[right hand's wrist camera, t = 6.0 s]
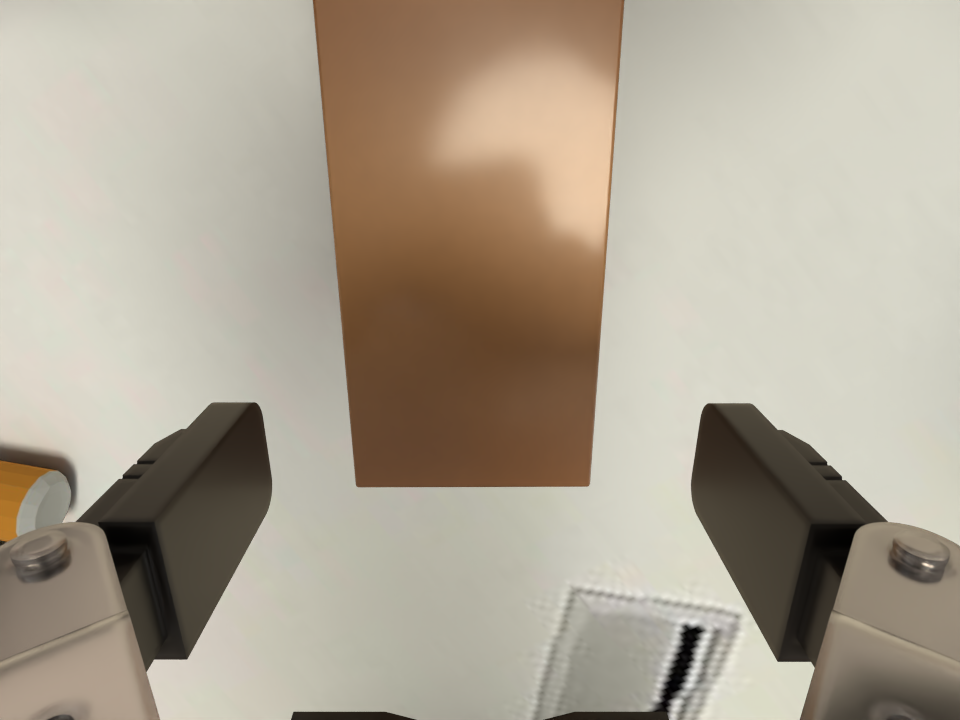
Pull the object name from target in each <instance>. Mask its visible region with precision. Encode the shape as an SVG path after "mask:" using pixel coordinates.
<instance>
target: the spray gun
mask: <svg viewBox="0 0 960 720" xmlns="http://www.w3.org/2000/svg"><path fill="white" fill-rule="evenodd" d="M70 501H71V490H70V486H69V483H68V481H67V478H66V477H65V476H64V475H63V474H62V473H61V472H59V471H57V470H52V469H46V468H40V467H34V466H29V465H23V464H17V463H11V462H6V461H0V540H1V541H6V542H8V541H10V540H12V539H14V538H16V537H18V536H20V535H23V534H25V533H27V532H30V531H33V530H36V529H39V528H42V527H46V526H50V525H55V524H60V523H62V522H63V520H64V518H65V516H66V514H67V512H68V508H69V505H70ZM1 545H3V544H2V543H1V542H0V546H1Z"/></svg>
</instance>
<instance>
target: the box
mask: <svg viewBox="0 0 960 720" xmlns="http://www.w3.org/2000/svg"><path fill="white" fill-rule="evenodd" d="M313 8H314V19H315V30H316V42H317V53H318V64H319V75H320V87H321V98H322V109H323V120H324V131H325V143H326V154H327V165H328V176H329V188H330V199H331V210H332V221H333V233H334V244H335V255H336V266H337V278H338V289H339V300H340V311H341V323H342V334H343V345H344V356H345V368H346V379H347V390H348V401H349V412H350V424H351V435H352V446H353V457H354V469H355V480H356V486H357V487H582V486H589V484H590V475H591V461H592V447H593V433H594V419H595V405H596V391H597V377H598V363H599V349H600V335H601V321H602V307H603V293H604V279H605V265H606V251H607V237H608V223H609V209H610V195H611V181H612V167H613V153H614V139H615V125H616V110H617V96H618V82H619V68H620V54H621V40H622V26H623V12H624V0H313Z"/></svg>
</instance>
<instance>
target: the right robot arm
mask: <svg viewBox="0 0 960 720" xmlns="http://www.w3.org/2000/svg"><path fill="white" fill-rule="evenodd" d="M271 494H272V477H271V470H270V463H269V456H268V449H267V442H266V436H265V429H264V422H263V416H262V412H261V409H260V407H259V405H258V404H257V403H211V404H210V405H209V406H208V407H207V408H206V409H205V410H204V411H203V412H202V413H201V414H200V415H199V416H198V417H197V418H196V419H195V421H194V422H193V423H192V424H191V425H190V426H189V427H188V428H187V429H180V430H179V431H177V432H175V433H173V434H171V435H169V436H168V437H166V438H164V439H162V440H160V441H159V442H157V443H155V444H154V445H153V446H152V447H151V448H150V449H149V450H148V451H147V452H146V453H145V454H144V455H143V456H142V457H141V458H140V459H139V460H138V461H137V464H134V465H133V466H132V467H131V468H130V469H128V470H127V471H126V472H125V473H124V474H123V478H122V479H118V480H117V481H116V482H115V483H114V484H113V485H112V486H111V487H110V488H109V489H108V490H107V491H106V492H105V493H104V494H103V495H102V496H101V497H100V498H99V499H98V500H97V501H96V502H95V503H94V504H93V505H92V506H91V507H90V508H89V509H88V510H87V511H86V512H85V513H84V514H83V515H82V516H81V517H80V518H79V519H78V520H77V521H76V522H68V523H60V524H55V525H50V526H46V527H42V528H39V529H36V530H33V531H30V532H27V533H25V534H23V535H20V536H18V537H16V538H14V539H12V540H10V541H8V542H6V543H4V544H3V545H1V546H0V720H160V718H159V714H158V711H157V707H156V704H155V701H154V697H153V694H152V690H151V687H150V683H149V680H148V677H147V673H146V672H147V670H148V669H149V667H150V665H151V664H152V662H153V660H154V659H188V657H189V655H190V653H191V651H192V650H193V648H194V646H195V644H196V642H197V640H198V638H199V637H200V635H201V633H202V631H203V629H204V627H205V626H206V624H207V622H208V620H209V618H210V616H211V615H212V613H213V611H214V609H215V607H216V605H217V604H218V602H219V600H220V598H221V596H222V594H223V593H224V591H225V589H226V587H227V585H228V583H229V582H230V580H231V578H232V576H233V574H234V572H235V570H236V569H237V567H238V565H239V563H240V561H241V559H242V558H243V556H244V554H245V552H246V550H247V548H248V547H249V545H250V543H251V541H252V539H253V537H254V536H255V534H256V532H257V530H258V528H259V526H260V525H261V523H262V521H263V519H264V517H265V515H266V513H267V511H268V508H269V505H270V501H271ZM691 494H692V501H693V505H694V509H695V512H696V514H697V516H698V518H699V520H700V521H701V523H702V525H703V527H704V529H705V531H706V532H707V534H708V536H709V538H710V540H711V541H712V543H713V545H714V547H715V549H716V551H717V552H718V554H719V556H720V558H721V560H722V561H723V563H724V565H725V567H726V569H727V570H728V572H729V574H730V576H731V578H732V580H733V581H734V583H735V585H736V587H737V589H738V590H739V592H740V594H741V596H742V598H743V600H744V601H745V603H746V605H747V607H748V609H749V610H750V612H751V614H752V616H753V618H754V620H755V621H756V623H757V625H758V627H759V629H760V630H761V632H762V634H763V636H764V638H765V639H766V641H767V643H768V645H769V647H770V649H771V650H772V652H773V654H774V656H775V658H776V659H777V661H778V662H812V664H813V666H814V667H815V670H814V673H813V677H812V680H811V683H810V687H809V690H808V694H807V697H806V701H805V704H804V707H803V711H802V714H801V718H800V720H960V546H959V545H957V544H956V543H954V542H952V541H950V540H948V539H946V538H944V537H942V536H940V535H937V534H935V533H933V532H930V531H927V530H924V529H921V528H918V527H914V526H910V525H905V524H900V523H892V522H888V521H887V520H886V519H885V518H884V517H883V516H882V515H880V514H879V513H878V512H877V511H876V510H875V509H874V508H873V507H872V506H871V505H870V504H869V503H868V502H867V501H866V500H865V499H864V498H863V497H862V496H861V495H860V494H859V493H858V492H857V491H856V490H855V489H854V488H853V487H852V486H851V485H850V484H849V483H848V482H847V481H846V480H842V476H841V475H840V474H839V473H838V472H837V471H836V470H835V469H834V468H833V467H832V466H827V461H826V460H825V459H823V458H822V457H821V456H820V455H819V454H818V453H817V452H816V451H815V450H814V449H813V448H812V447H811V446H810V445H809V444H807V443H805V442H803V441H802V440H800V439H798V438H796V437H794V436H793V435H791V434H789V433H787V432H785V431H783V430H777V429H776V428H775V427H774V426H773V425H772V424H771V423H770V422H769V421H768V419H767V418H766V417H765V416H764V415H763V414H762V413H761V412H760V411H759V410H758V409H757V408H756V407H755V406H754V405H753V404H750V403H708V404H707V405H706V406H705V407H704V408H703V411H702V414H701V419H700V425H699V432H698V439H697V445H696V452H695V459H694V465H693V472H692V479H691ZM291 720H415V719H411V718H407V717H403V716H400V715H396V714H392V713H388V712H293V715H292V718H291ZM545 720H669V718H668V715H667V712H572V713H568V714H564V715H560V716H557V717H553V718H549V719H545Z"/></svg>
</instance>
